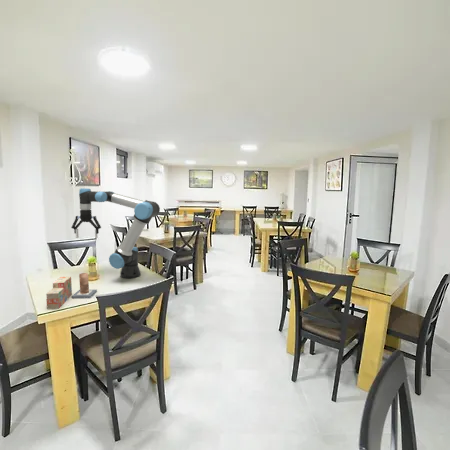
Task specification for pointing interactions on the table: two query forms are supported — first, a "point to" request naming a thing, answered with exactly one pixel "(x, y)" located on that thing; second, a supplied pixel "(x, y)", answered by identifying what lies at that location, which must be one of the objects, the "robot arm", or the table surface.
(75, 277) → the table surface
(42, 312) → the table surface
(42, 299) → the table surface
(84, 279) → the column
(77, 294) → the base board
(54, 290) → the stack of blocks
